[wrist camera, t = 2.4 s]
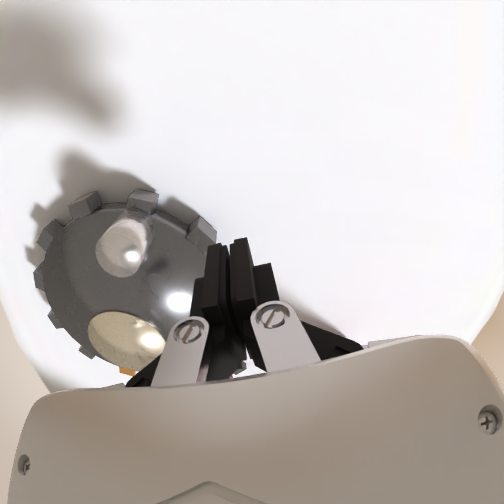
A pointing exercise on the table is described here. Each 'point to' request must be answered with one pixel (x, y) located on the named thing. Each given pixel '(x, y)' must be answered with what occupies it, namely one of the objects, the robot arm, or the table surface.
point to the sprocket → (121, 276)
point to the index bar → (240, 369)
